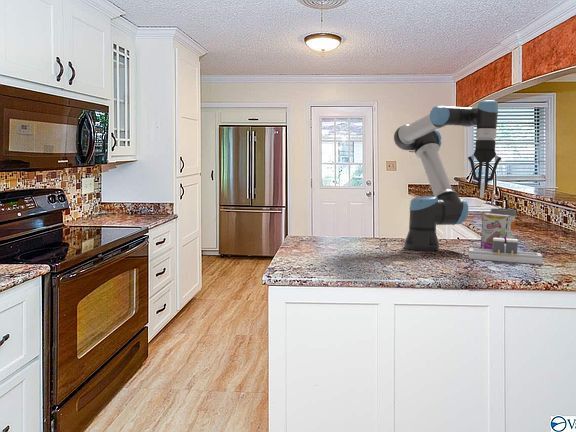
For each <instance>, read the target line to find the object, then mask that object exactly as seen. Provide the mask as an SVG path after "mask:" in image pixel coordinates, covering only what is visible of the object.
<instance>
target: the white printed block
mask: <svg viewBox="0 0 576 432" xmlns="http://www.w3.org/2000/svg"><path fill="white" fill-rule="evenodd" d="M490 214H500V215H510V216H512V219H511V231H510V239H512V235H513V230H514V229H515V225H516V216H517V210H516V209H511V208H490Z"/></svg>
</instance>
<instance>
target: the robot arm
mask: <svg viewBox="0 0 576 432" xmlns="http://www.w3.org/2000/svg"><path fill="white" fill-rule="evenodd" d="M498 112H499V102H498V101H497V100H488V99H487V100H480V101H478V103H477V107H463V106H462V107H461V106H446V105H436V106H433V107H432V109H431V110H430V112H429V114H427V115H425V116H423V117H421V118H420V119H418V120H415V121H414V122H411V123H410V124H408V123H407V124H406V123H405V124H402V125H400V126H399V127H398V128H397V129H396V130H395V132H394V133H393V141H394V144H395V145H396V146H397V147H398V149H401V150H403V151H412V152H413V151H414V153H415V156H416V157H417V158H418V159H420V160H421V163H422V166H423V168H424V171H425V174H426V177H427V180H428V183H429V186H430V188H431V192H432V193H433V195H424V196H416V197H413V198H412V199H411V200H410V204H409V222H408V223H409V225H408V227H409V228H408V233H407V235H406V237H405V240H404V245H403V246H404V248H405V249H407V250H411V251H412V250H413V251H419V252H423V251H424V252H433V251H438V250H440V243H439V240H438V235H437V225H438V226H446V225H448V226H449V225H452V226H454V225H462V224H463V223H465V221H466V219H467V217H468V214H469V205H468V202H467V200H465V199H463V198H460V197H459V193H458V192H457V191H455V190H453V187H452V185H451V183H450V180H449V178H448V175H447V173H446V170H445V167H444V164H443V162H442V159H441V156H440V153H439V151H440V149H441V146H442V135H441V132H440V131H439V130H438V129H441V128H444V127H445V126H459V127H460V126H462V127H466V128H467V127H474V126H476V133H475V135H476V136H475V138H476V141H475V145H474V147H475V148H474V152H473V154H472V155H469V156H468V157H467V160H468V161H469V163H470V168H471V171H472V179H473V180H474V181H476V182H477V190H479V198H480V199H484V198H485V191H486V190H488V183H489V182H490V181H491V182H492V181H493V180H494V177H495V174H496V171H497V168H498V166H499V165H498V164H499V163H500V161H501V160H502V157H501V156H499V155H497V153H496V141H497V140H496V139H497V126H498V125H497V124H498ZM474 160H476V161H477V162H478V173H476V168H475V164H474ZM493 160H494V161H495V162H494V164H493V167H492V170H491V173H490V176H489V169H490V163H491V162H492V161H493ZM484 163H485V171H484V181H482V171H483V164H484ZM477 174H478V176H477Z"/></svg>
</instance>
